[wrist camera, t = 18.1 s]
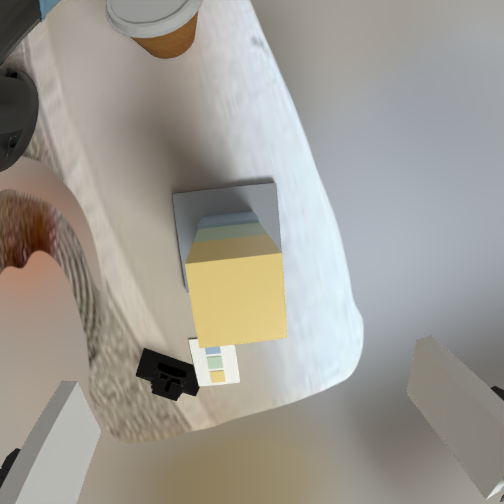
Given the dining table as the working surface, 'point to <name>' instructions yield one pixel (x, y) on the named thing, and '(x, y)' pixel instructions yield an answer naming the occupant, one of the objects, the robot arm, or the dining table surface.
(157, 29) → the disposable coffee cup
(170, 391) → the black mounting plate
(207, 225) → the blue base brick
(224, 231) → the sage brick
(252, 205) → the slate board
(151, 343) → the dining table surface
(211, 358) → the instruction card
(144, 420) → the dining table surface
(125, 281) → the dining table surface
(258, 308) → the ochre brick
